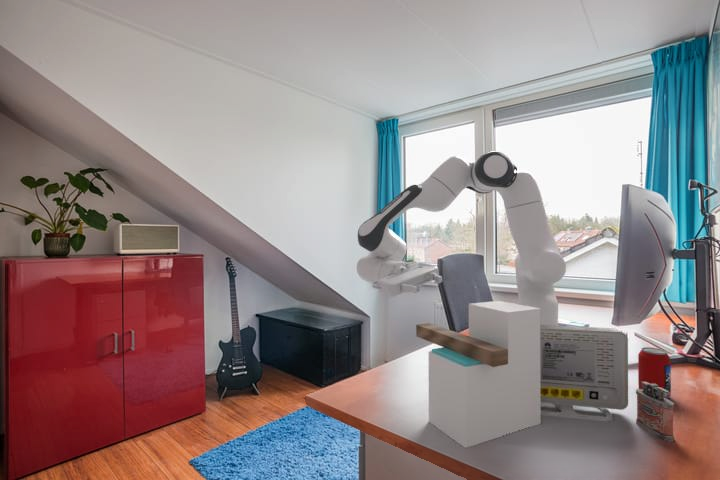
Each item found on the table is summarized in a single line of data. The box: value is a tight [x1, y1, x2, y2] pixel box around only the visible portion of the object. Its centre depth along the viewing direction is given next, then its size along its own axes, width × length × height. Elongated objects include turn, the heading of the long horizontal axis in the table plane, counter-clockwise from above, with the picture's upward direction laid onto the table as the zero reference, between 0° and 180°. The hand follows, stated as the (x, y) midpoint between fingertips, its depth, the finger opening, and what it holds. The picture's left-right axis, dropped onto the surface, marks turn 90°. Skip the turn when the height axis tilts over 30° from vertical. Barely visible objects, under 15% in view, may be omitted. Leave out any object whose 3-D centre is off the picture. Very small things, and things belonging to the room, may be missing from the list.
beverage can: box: [637, 346, 672, 399], centre depth 98 cm, size 7×7×12 cm
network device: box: [540, 325, 629, 422], centre depth 90 cm, size 26×9×20 cm, turn 77°
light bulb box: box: [558, 318, 590, 327], centre depth 137 cm, size 11×7×11 cm, turn 40°
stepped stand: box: [428, 300, 542, 449], centre depth 84 cm, size 12×22×26 cm, turn 116°
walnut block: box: [415, 322, 508, 367], centre depth 84 cm, size 26×4×3 cm, turn 26°
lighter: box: [635, 382, 675, 442], centre depth 80 cm, size 8×3×10 cm, turn 5°
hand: (429, 284), depth 102 cm, fingers open, 8 cm apart
